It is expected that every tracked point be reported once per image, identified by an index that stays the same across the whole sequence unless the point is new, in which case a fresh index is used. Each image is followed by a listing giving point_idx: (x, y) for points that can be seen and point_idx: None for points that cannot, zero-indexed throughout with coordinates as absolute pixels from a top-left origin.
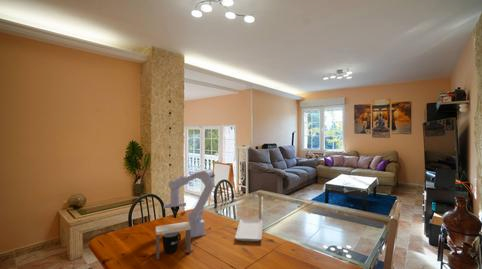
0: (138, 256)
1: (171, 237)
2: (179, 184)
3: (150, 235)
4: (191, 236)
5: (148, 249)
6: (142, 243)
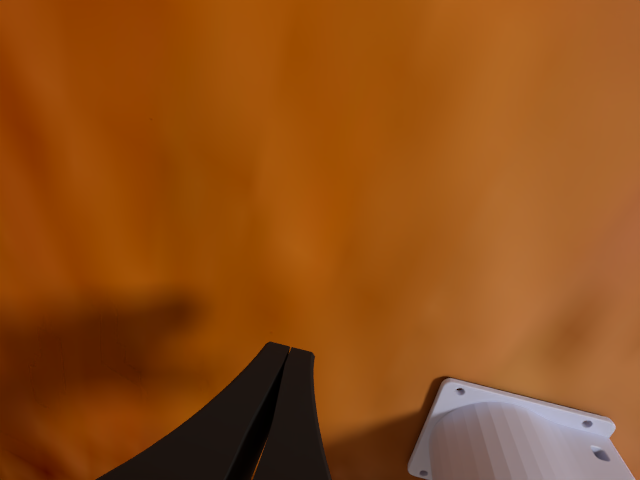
0: (10, 455)
1: None
2: None
3: (53, 186)
4: (420, 471)
5: (61, 420)
6: (2, 310)
